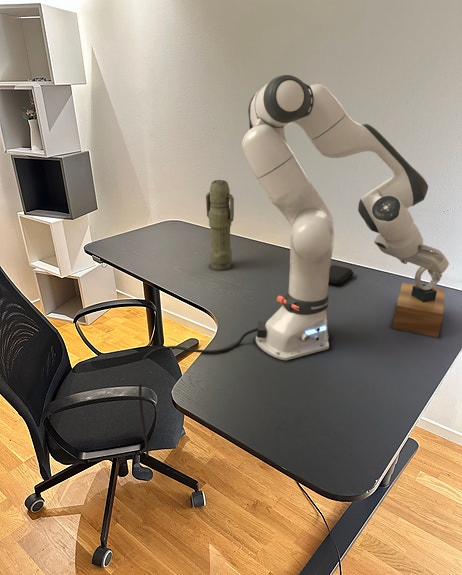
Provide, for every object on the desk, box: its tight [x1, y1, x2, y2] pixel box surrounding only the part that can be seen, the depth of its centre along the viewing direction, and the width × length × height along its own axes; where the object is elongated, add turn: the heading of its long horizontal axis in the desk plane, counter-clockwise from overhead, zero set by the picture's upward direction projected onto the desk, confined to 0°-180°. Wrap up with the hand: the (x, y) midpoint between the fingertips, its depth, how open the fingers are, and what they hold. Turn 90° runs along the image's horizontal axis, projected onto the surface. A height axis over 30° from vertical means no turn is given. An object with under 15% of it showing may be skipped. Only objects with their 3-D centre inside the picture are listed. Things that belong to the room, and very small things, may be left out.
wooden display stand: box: [392, 282, 446, 338], centre depth 139 cm, size 18×13×8 cm
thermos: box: [205, 179, 235, 271], centre depth 174 cm, size 9×12×35 cm
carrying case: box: [328, 264, 355, 287], centre depth 169 cm, size 11×3×15 cm
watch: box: [411, 266, 443, 303], centre depth 135 cm, size 6×8×11 cm
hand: (419, 266), depth 130 cm, fingers open, 8 cm apart
